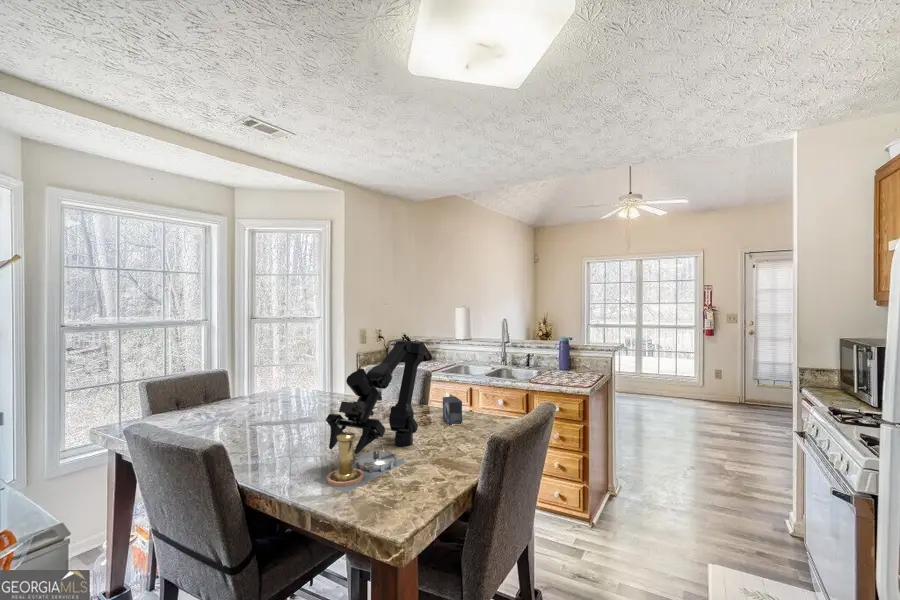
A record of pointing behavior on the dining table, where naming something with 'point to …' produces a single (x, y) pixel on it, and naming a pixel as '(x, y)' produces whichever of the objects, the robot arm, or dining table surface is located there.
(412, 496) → the dining table surface
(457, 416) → the small box
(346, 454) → the gold piece
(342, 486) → the gear board
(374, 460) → the gear
